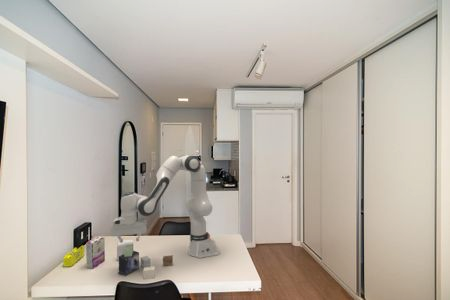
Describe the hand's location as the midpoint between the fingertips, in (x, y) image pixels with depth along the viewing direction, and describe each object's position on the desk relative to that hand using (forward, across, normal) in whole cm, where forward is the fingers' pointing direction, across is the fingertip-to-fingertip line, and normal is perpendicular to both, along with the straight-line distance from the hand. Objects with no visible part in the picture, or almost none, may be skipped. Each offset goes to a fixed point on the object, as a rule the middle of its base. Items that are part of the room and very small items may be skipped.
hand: (129, 241), depth 144 cm
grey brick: (+18, -8, -5) cm, 21 cm away
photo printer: (+18, +7, -18) cm, 26 cm away
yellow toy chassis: (+18, +39, -20) cm, 47 cm away
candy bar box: (+18, +24, -13) cm, 32 cm away
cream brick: (+18, -12, +9) cm, 24 cm away
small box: (+18, +1, 0) cm, 18 cm away
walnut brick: (+19, -22, -4) cm, 29 cm away
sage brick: (+8, 0, 0) cm, 8 cm away
